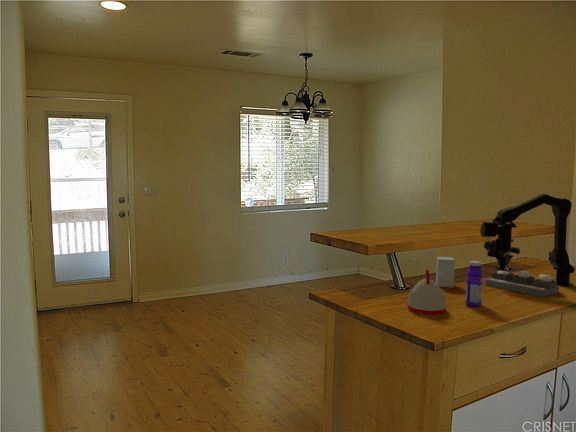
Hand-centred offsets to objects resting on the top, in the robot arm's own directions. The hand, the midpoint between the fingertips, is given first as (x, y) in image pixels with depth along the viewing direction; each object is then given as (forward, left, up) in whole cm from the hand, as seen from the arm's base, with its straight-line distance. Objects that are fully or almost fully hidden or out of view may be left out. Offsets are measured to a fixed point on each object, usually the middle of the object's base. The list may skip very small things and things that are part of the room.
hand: (502, 270), depth 226 cm
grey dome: (+62, +4, -7) cm, 62 cm away
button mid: (0, +10, -2) cm, 10 cm away
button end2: (0, +19, -2) cm, 19 cm away
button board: (+1, +10, -6) cm, 11 cm away
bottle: (+43, +12, -6) cm, 45 cm away
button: (0, 0, -3) cm, 3 cm away
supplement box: (+24, -14, -6) cm, 29 cm away
